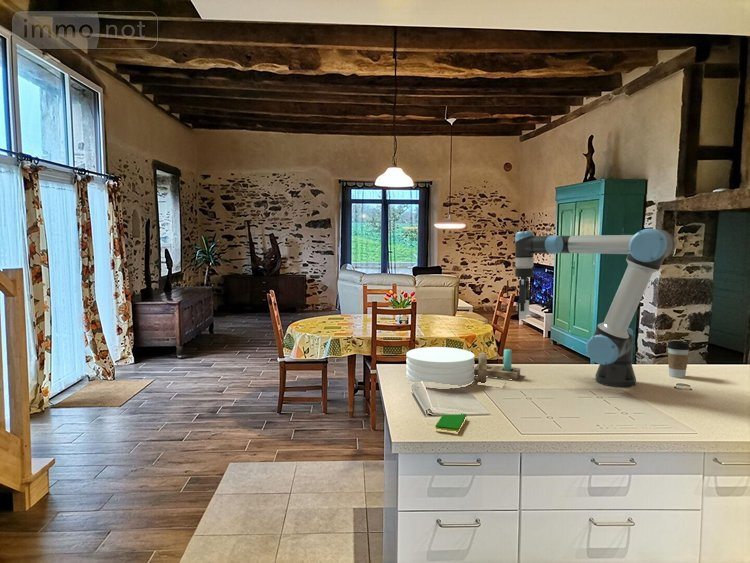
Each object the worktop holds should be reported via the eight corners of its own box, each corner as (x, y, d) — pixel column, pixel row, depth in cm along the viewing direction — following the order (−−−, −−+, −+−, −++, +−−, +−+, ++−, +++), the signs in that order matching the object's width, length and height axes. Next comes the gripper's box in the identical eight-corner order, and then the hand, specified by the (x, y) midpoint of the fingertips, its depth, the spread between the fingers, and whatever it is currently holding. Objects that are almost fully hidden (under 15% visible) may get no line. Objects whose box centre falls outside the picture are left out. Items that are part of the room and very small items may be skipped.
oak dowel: (487, 382, 209) (487, 353, 208) (485, 384, 206) (485, 354, 205) (479, 381, 210) (479, 352, 209) (477, 383, 207) (477, 354, 206)
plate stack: (397, 375, 223) (397, 349, 222) (457, 370, 230) (457, 345, 229) (420, 393, 196) (420, 364, 195) (486, 388, 203) (486, 359, 202)
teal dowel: (511, 377, 218) (512, 349, 217) (510, 379, 215) (510, 351, 214) (504, 376, 219) (504, 349, 218) (502, 378, 216) (503, 350, 215)
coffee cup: (668, 378, 217) (670, 343, 215) (663, 373, 225) (665, 339, 223) (691, 379, 214) (692, 344, 213) (685, 374, 222) (687, 340, 221)
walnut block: (520, 376, 220) (520, 368, 219) (516, 382, 211) (516, 373, 210) (478, 371, 227) (478, 363, 227) (472, 377, 218) (473, 369, 218)
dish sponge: (466, 421, 167) (466, 413, 167) (458, 436, 154) (458, 428, 154) (445, 418, 169) (445, 411, 169) (435, 433, 156) (435, 425, 156)
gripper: (518, 266, 233) (518, 312, 234) (511, 268, 210) (511, 320, 211) (535, 266, 230) (535, 313, 231) (530, 268, 207) (530, 321, 208)
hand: (524, 316), depth 221 cm, fingers open, 13 cm apart
